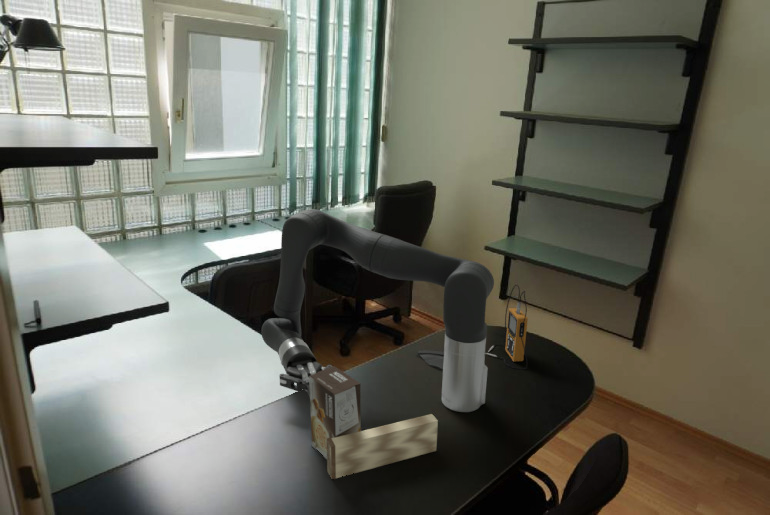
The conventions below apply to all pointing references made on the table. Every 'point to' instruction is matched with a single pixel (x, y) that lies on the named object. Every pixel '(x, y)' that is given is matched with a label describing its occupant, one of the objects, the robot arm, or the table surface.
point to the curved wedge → (432, 358)
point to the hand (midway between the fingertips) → (317, 394)
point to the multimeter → (515, 333)
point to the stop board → (381, 445)
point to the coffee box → (333, 406)
